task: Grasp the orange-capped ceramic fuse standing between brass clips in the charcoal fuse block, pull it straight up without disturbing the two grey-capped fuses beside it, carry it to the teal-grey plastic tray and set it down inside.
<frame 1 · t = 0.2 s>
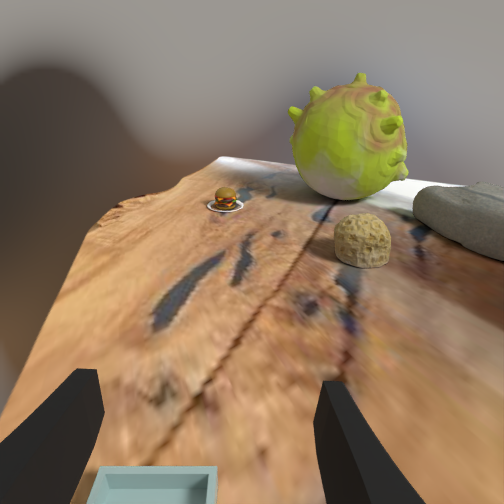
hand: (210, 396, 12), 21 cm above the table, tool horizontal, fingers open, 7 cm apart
hamburger: (225, 209, 89), on the table
monster head: (341, 197, 97), on the table
rock: (358, 258, 66), on the table
stone: (480, 240, 74), on the table
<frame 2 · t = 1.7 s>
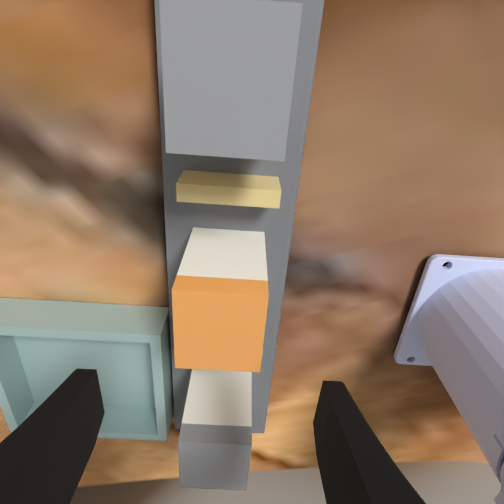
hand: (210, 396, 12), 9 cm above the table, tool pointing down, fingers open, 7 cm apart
grey fuse 1: (235, 75, 15), point 1 cm above the table, touching fuse block
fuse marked: (227, 263, 19), point 1 cm above the table, touching fuse block
fuse block: (228, 254, 20), on the table
tray: (94, 358, 24), on the table
grey fuse 2: (221, 382, 23), point 1 cm above the table, touching fuse block
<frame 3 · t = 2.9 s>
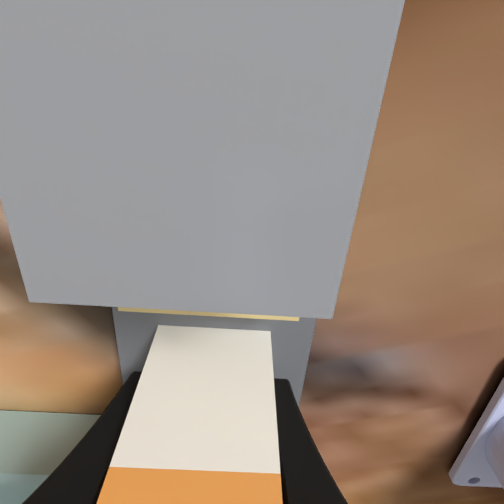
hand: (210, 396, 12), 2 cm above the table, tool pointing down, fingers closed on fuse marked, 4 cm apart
grey fuse 1: (221, 90, 8), point 1 cm above the table, touching fuse block
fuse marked: (213, 372, 12), point 1 cm above the table, touching fuse block, gripper
fuse block: (215, 351, 13), on the table
tray: (33, 474, 17), on the table
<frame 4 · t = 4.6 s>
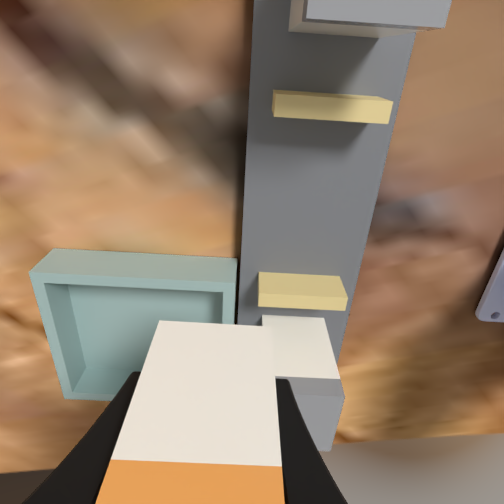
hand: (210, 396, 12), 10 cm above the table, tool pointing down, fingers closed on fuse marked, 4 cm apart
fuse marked: (214, 368, 12), point 8 cm above the table, touching gripper
fuse block: (306, 195, 18), on the table
tray: (152, 318, 22), on the table
grey fuse 2: (289, 342, 22), point 1 cm above the table, touching fuse block
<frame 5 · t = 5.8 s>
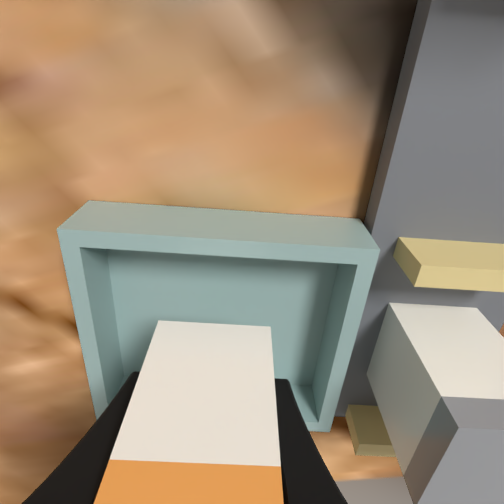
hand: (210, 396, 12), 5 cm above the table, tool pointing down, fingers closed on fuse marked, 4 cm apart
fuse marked: (213, 368, 12), point 4 cm above the table, touching gripper
fuse block: (485, 117, 12), on the table
tray: (222, 307, 16), on the table
grey fuse 2: (418, 342, 15), point 1 cm above the table, touching fuse block
when the fingers open (3 cm above the table, at t = 6.4 s): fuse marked drops 2 cm, resting on tray.
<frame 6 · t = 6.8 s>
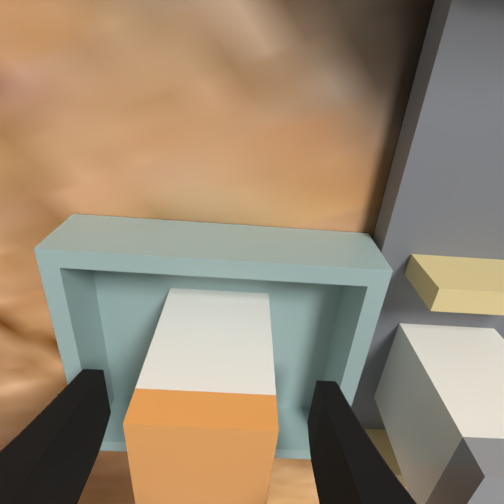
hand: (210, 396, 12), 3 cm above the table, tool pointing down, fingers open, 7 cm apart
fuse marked: (218, 332, 14), resting on tray
tray: (219, 326, 15), on the table
grey fuse 2: (430, 364, 14), point 1 cm above the table, touching fuse block
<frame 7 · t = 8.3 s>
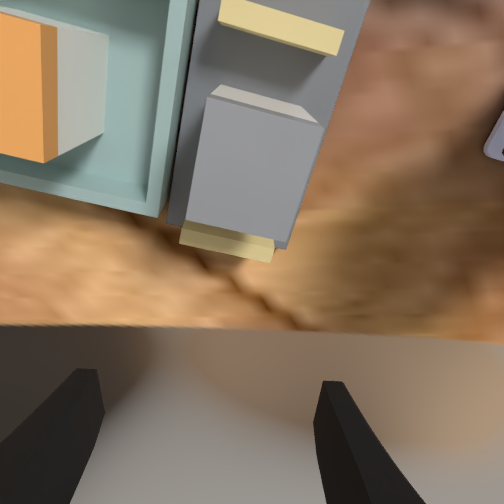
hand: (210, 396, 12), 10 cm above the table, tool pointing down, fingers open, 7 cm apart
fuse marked: (63, 75, 15), resting on tray
tray: (68, 78, 16), on the table
grey fuse 2: (250, 141, 16), point 1 cm above the table, touching fuse block
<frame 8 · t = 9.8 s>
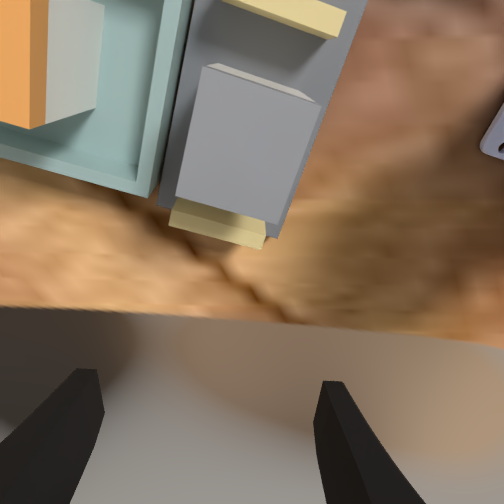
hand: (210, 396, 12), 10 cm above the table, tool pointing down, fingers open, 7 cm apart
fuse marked: (56, 45, 15), resting on tray
tray: (61, 49, 15), on the table
grey fuse 2: (246, 124, 16), point 1 cm above the table, touching fuse block
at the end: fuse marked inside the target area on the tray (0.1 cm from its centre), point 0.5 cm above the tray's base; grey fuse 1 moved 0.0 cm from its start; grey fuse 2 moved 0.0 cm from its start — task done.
